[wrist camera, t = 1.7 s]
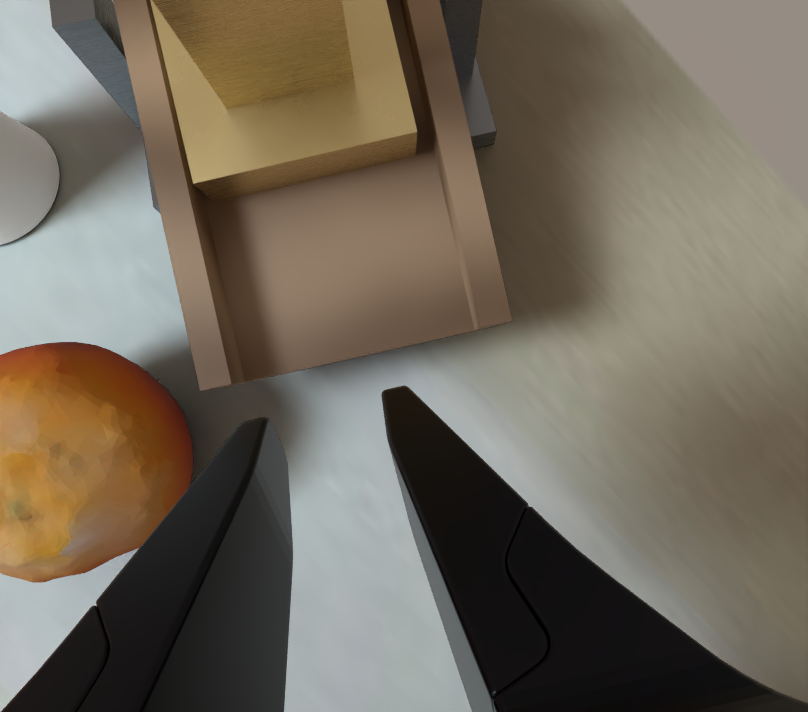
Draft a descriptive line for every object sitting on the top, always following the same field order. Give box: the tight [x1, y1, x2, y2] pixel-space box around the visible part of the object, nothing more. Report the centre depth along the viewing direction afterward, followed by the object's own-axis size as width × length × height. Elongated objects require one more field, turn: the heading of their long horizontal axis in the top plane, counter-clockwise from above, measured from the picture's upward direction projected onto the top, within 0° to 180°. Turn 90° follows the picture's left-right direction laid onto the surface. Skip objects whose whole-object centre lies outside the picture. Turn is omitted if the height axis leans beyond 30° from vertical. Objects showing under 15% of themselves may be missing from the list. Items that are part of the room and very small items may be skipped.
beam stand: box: [49, 0, 497, 214], centre depth 21 cm, size 8×15×8 cm, turn 103°
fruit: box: [0, 342, 193, 582], centre depth 20 cm, size 8×8×8 cm
